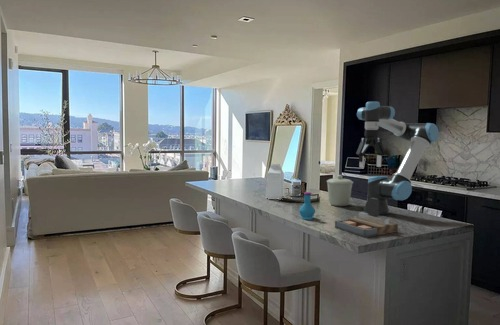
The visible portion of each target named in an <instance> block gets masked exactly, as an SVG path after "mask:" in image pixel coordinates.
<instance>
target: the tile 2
mask: <svg viewBox="0 0 500 325" xmlns="http://www.w3.org/2000/svg"><path fill="white" fill-rule="evenodd" d="M357 227H358V228H361V229H364V230H366V229H372V227H369V226H365V225H362V226H357Z"/></svg>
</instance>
